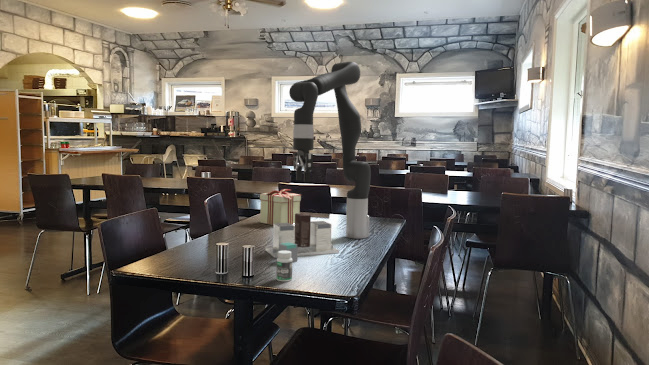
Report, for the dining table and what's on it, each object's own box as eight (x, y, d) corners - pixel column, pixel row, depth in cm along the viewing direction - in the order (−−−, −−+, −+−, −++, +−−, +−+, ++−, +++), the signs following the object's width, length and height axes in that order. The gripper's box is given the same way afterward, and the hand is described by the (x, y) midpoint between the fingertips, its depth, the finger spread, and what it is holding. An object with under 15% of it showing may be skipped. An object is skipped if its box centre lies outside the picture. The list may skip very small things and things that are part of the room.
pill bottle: (273, 280, 141) (273, 252, 141) (280, 276, 146) (280, 249, 145) (288, 282, 140) (288, 254, 139) (294, 278, 144) (295, 250, 144)
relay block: (290, 259, 168) (290, 242, 168) (297, 261, 165) (297, 244, 165) (278, 261, 165) (278, 243, 165) (285, 263, 162) (285, 245, 162)
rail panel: (326, 246, 190) (327, 219, 189) (339, 252, 179) (339, 224, 178) (265, 250, 181) (265, 222, 180) (274, 257, 170) (274, 228, 169)
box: (310, 247, 178) (311, 214, 177) (299, 247, 176) (299, 215, 175) (304, 243, 184) (305, 212, 183) (293, 244, 182) (294, 213, 181)
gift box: (287, 227, 232) (287, 192, 230) (257, 223, 242) (258, 189, 240) (307, 223, 246) (307, 189, 244) (279, 219, 256) (279, 187, 254)
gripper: (320, 137, 171) (319, 182, 173) (306, 137, 184) (305, 179, 186) (300, 137, 168) (299, 183, 170) (287, 137, 181) (287, 179, 183)
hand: (303, 181), depth 178 cm, fingers open, 8 cm apart
